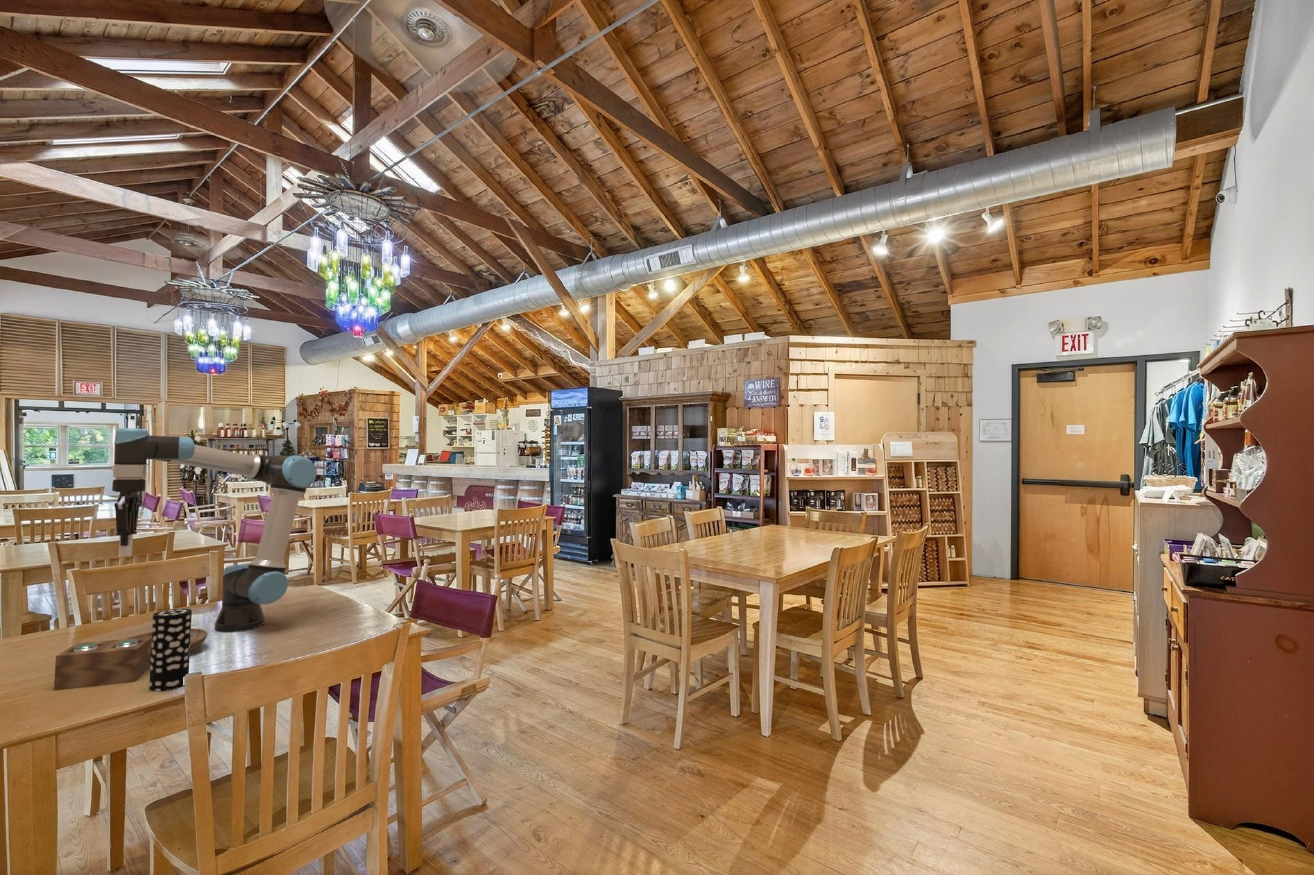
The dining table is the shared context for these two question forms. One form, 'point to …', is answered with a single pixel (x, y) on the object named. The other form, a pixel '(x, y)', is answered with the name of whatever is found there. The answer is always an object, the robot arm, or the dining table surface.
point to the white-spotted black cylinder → (170, 649)
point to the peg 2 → (127, 643)
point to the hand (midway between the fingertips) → (125, 556)
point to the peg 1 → (86, 647)
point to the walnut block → (102, 664)
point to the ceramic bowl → (195, 640)
